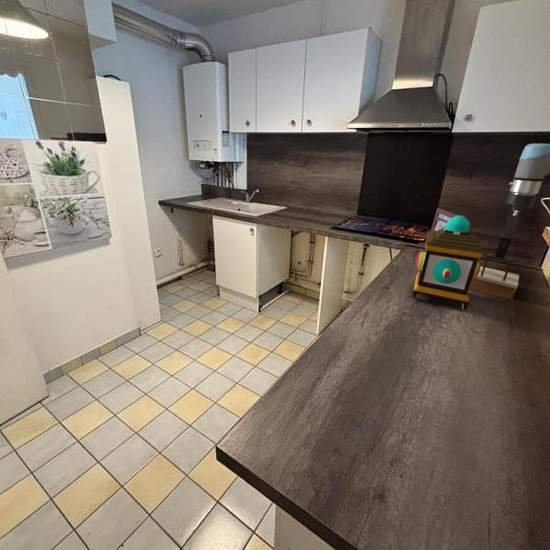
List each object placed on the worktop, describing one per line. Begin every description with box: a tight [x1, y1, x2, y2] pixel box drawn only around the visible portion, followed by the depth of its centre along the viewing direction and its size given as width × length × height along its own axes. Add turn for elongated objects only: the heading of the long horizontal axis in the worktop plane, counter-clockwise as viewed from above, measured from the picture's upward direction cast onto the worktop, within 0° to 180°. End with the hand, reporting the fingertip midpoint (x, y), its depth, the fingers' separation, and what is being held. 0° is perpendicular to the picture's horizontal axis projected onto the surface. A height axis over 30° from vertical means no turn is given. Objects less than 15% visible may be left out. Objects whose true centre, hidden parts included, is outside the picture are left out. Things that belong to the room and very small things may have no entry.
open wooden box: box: [469, 279, 517, 301], centre depth 116 cm, size 14×16×5 cm
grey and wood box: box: [475, 252, 520, 290], centre depth 112 cm, size 14×16×10 cm
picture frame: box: [424, 207, 459, 252], centre depth 136 cm, size 17×10×25 cm, turn 178°
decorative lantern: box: [411, 214, 485, 311], centre depth 103 cm, size 20×20×30 cm
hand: (500, 253), depth 107 cm, fingers open, 13 cm apart
